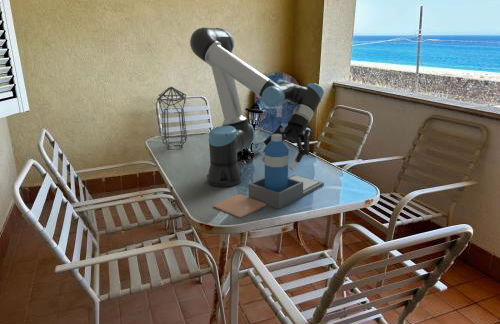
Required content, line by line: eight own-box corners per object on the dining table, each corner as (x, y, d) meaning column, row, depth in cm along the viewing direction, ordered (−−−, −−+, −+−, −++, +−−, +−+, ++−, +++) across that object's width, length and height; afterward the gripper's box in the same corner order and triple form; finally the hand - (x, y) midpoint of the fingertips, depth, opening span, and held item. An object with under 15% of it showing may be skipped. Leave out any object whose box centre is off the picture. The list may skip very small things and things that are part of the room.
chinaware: (233, 151, 200) (232, 138, 198) (254, 147, 209) (254, 134, 206) (249, 158, 189) (249, 143, 186) (271, 152, 198) (271, 139, 195)
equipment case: (248, 198, 140) (248, 183, 138) (294, 177, 162) (295, 164, 160) (279, 209, 131) (279, 193, 129) (323, 185, 152) (324, 171, 150)
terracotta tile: (213, 206, 133) (213, 205, 133) (239, 195, 143) (239, 194, 143) (240, 218, 124) (240, 216, 124) (266, 205, 134) (266, 203, 134)
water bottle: (260, 200, 138) (260, 136, 130) (268, 191, 146) (268, 131, 139) (283, 203, 135) (285, 139, 127) (290, 194, 143) (292, 133, 135)
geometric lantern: (189, 143, 218) (186, 84, 207) (188, 151, 204) (185, 88, 192) (162, 144, 216) (157, 85, 205) (160, 152, 202) (154, 89, 190)
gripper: (331, 128, 136) (308, 177, 130) (279, 120, 152) (256, 162, 146) (325, 117, 131) (300, 166, 125) (271, 109, 147) (247, 153, 141)
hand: (276, 164), depth 136 cm, fingers open, 13 cm apart
